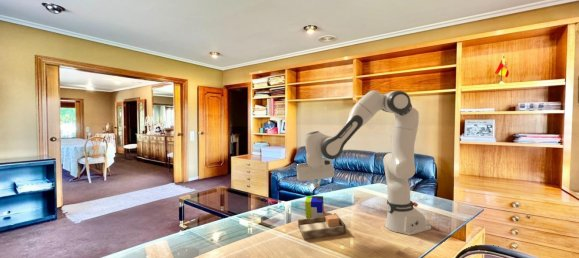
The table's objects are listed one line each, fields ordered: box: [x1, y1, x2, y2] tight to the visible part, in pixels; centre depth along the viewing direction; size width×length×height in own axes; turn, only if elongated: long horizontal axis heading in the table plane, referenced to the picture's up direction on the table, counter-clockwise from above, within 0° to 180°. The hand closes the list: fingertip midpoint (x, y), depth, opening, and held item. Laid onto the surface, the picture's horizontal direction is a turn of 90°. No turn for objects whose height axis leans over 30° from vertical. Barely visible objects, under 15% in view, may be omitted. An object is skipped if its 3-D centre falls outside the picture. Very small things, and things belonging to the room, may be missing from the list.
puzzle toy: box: [304, 195, 325, 219], centre depth 158 cm, size 10×10×10 cm
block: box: [325, 213, 340, 227], centre depth 139 cm, size 6×5×4 cm
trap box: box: [297, 213, 347, 240], centre depth 138 cm, size 22×15×5 cm
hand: (316, 187), depth 139 cm, fingers closed
